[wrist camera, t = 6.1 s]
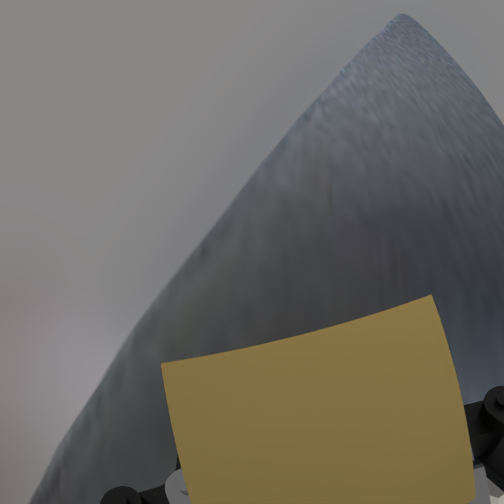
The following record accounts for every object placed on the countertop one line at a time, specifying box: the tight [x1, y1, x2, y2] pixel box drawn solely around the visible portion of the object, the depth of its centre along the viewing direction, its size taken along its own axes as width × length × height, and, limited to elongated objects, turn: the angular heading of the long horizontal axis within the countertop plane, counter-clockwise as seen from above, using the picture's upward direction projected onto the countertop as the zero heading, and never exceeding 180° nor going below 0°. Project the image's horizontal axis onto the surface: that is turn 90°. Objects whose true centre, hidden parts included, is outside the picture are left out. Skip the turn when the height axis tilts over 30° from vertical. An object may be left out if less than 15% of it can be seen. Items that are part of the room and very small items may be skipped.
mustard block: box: [161, 294, 476, 504], centre depth 9 cm, size 5×5×11 cm
